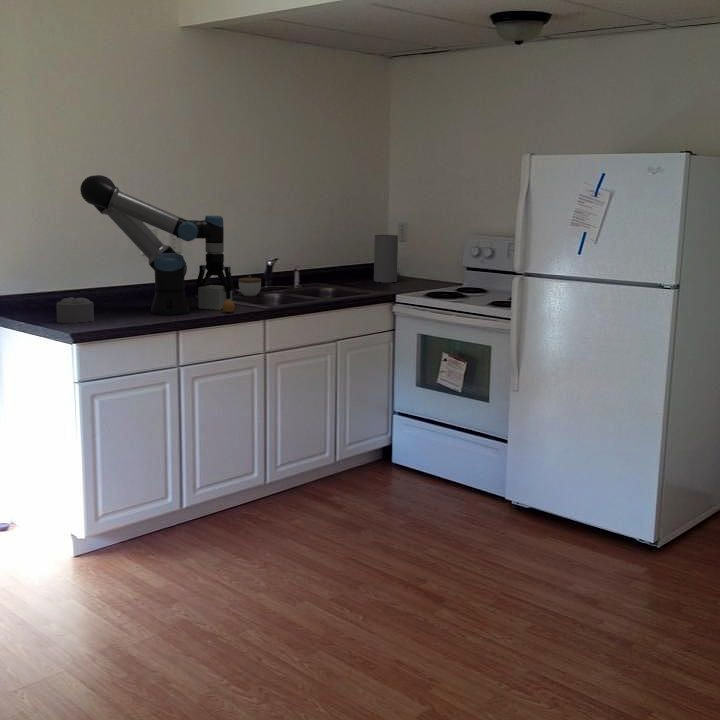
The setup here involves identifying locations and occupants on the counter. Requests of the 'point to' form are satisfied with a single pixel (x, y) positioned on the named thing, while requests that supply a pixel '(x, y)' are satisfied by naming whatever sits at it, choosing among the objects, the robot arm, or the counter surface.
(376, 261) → the cylinder vase
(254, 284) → the lidded jar
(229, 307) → the ball
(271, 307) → the counter surface
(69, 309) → the lumpy-topped squat cylinder
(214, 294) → the wide gray carton
